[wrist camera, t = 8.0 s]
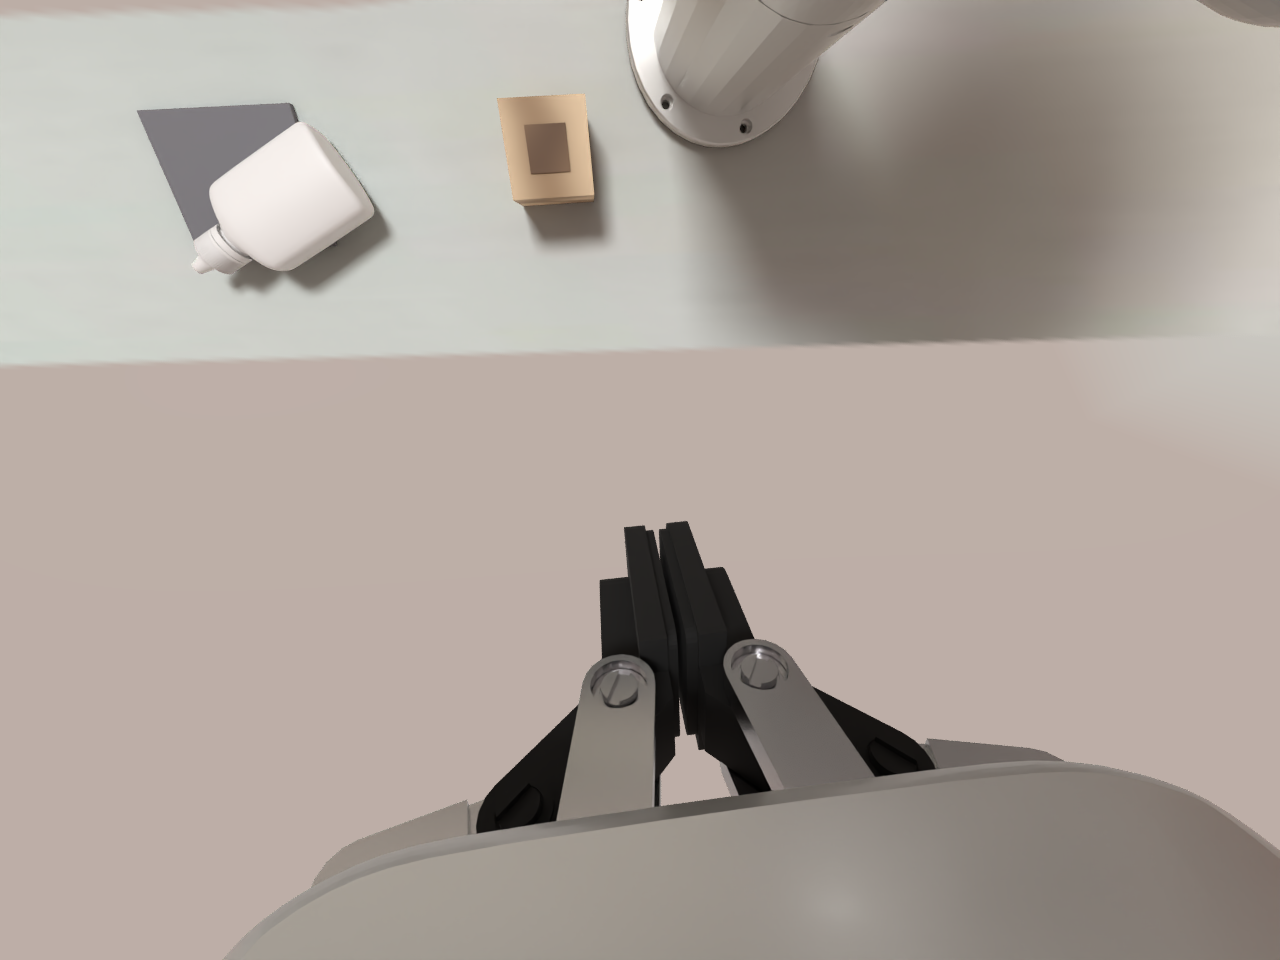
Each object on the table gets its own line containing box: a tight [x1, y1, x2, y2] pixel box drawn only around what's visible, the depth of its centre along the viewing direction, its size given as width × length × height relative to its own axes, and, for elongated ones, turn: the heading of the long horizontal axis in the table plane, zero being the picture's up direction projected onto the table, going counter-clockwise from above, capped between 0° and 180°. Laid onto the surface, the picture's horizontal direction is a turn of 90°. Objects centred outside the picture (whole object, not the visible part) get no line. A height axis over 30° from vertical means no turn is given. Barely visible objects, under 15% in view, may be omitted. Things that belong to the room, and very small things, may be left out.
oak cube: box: [497, 94, 594, 206], centre depth 30 cm, size 5×5×5 cm
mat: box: [137, 103, 337, 247], centre depth 31 cm, size 9×8×1 cm
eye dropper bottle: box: [191, 122, 374, 274], centre depth 31 cm, size 4×6×12 cm
